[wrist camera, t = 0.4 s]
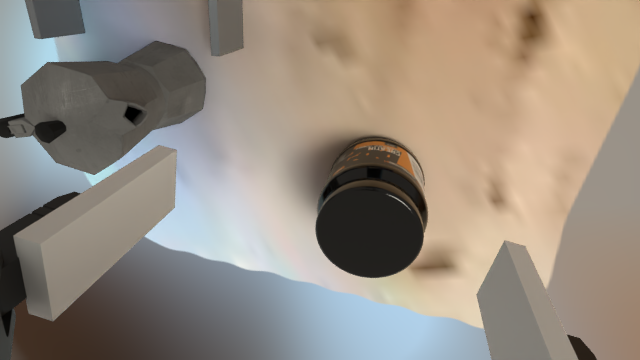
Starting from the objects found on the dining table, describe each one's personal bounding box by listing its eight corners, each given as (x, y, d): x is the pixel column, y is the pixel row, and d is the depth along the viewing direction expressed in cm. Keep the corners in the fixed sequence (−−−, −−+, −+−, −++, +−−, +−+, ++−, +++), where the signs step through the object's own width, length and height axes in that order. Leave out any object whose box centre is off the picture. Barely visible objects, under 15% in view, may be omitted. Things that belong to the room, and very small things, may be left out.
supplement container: (440, 153, 42) (451, 207, 32) (403, 229, 47) (402, 299, 37) (347, 121, 43) (328, 164, 32) (320, 200, 48) (296, 260, 37)
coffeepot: (211, 31, 42) (91, 57, 26) (233, 117, 45) (139, 186, 29) (90, 50, 45) (-81, 83, 29) (119, 128, 49) (-18, 195, 33)
